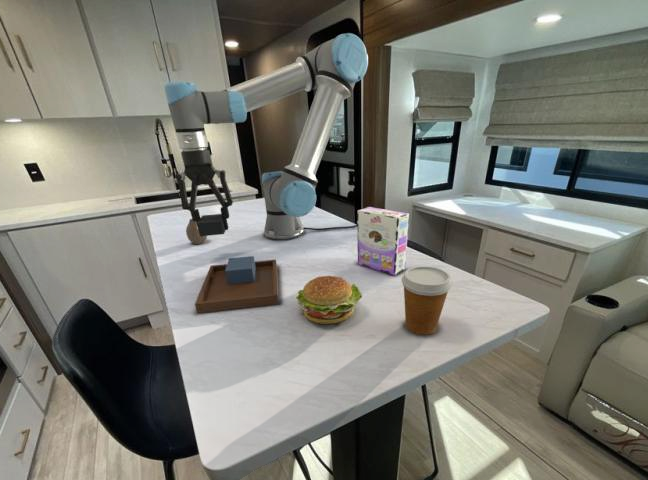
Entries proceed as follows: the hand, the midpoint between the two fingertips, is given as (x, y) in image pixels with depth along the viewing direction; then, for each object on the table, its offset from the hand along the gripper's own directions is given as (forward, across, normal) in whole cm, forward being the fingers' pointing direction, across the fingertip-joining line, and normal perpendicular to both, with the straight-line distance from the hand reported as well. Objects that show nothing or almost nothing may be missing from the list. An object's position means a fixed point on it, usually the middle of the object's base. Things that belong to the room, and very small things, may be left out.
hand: (214, 229), depth 100 cm
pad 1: (0, 0, 0) cm, 0 cm away
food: (+10, +30, -41) cm, 52 cm away
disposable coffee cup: (+10, +48, -51) cm, 71 cm away
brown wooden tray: (+10, +9, -23) cm, 26 cm away
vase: (+10, -10, +19) cm, 24 cm away
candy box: (+10, +49, -19) cm, 53 cm away
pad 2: (+9, +8, -18) cm, 22 cm away
